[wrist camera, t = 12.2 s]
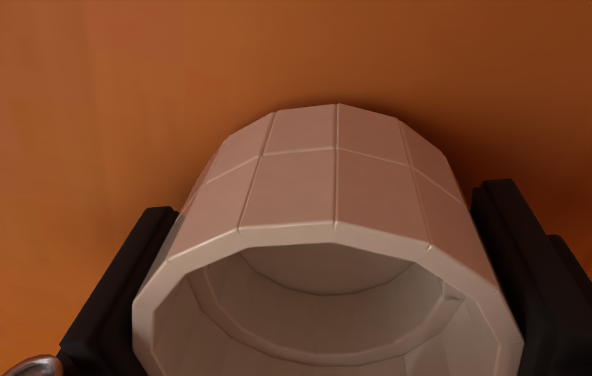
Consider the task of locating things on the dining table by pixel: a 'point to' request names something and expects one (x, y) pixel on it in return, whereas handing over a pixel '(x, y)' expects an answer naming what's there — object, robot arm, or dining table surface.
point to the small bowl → (325, 260)
